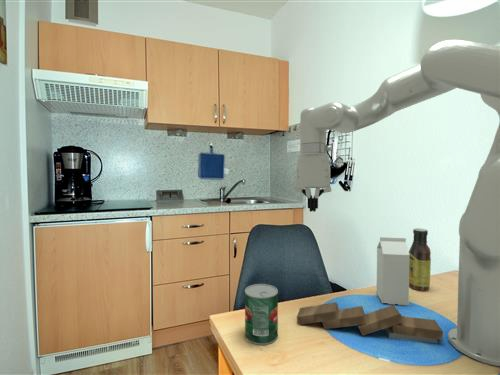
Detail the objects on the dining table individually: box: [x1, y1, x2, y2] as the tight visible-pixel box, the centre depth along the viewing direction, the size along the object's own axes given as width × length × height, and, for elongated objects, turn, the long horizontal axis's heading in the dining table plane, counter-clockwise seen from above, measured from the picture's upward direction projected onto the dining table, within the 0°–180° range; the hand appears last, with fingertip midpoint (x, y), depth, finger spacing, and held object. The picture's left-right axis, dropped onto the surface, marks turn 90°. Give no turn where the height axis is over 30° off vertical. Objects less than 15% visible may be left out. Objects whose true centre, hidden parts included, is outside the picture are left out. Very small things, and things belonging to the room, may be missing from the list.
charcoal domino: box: [384, 326, 438, 344], centre depth 66 cm, size 2×5×10 cm
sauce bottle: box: [408, 227, 432, 292], centre depth 92 cm, size 6×6×20 cm
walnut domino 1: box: [296, 301, 340, 326], centre depth 71 cm, size 2×5×10 cm
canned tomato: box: [244, 283, 279, 346], centre depth 66 cm, size 8×8×11 cm
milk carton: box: [375, 236, 410, 306], centre depth 84 cm, size 7×7×19 cm
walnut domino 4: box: [391, 315, 444, 341], centre depth 66 cm, size 2×5×10 cm
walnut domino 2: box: [321, 305, 366, 330], centre depth 70 cm, size 2×5×10 cm
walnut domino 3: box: [357, 304, 404, 336], centre depth 67 cm, size 2×5×10 cm
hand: (312, 210), depth 84 cm, fingers closed
